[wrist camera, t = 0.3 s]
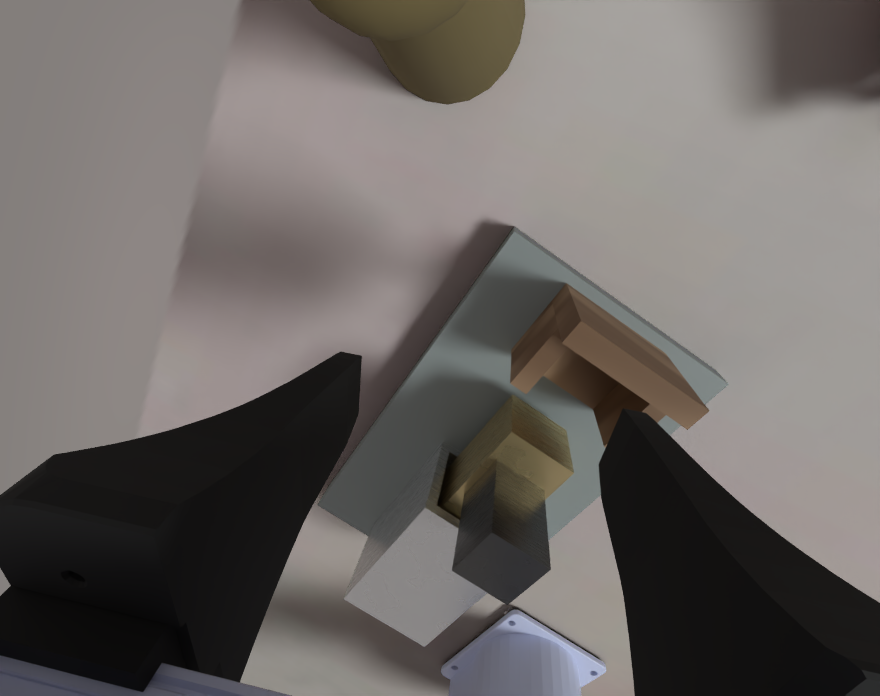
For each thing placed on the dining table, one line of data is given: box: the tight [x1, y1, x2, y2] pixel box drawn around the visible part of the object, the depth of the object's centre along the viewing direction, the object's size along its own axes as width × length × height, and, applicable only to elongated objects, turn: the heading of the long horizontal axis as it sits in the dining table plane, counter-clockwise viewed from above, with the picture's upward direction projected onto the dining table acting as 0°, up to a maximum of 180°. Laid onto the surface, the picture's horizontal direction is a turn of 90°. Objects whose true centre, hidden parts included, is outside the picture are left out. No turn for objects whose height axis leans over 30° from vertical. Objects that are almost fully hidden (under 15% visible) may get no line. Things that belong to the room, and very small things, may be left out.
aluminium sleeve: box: [344, 441, 487, 647], centre depth 23 cm, size 8×5×5 cm, turn 147°
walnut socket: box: [510, 283, 709, 448], centre depth 18 cm, size 4×6×5 cm
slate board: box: [318, 227, 728, 602], centre depth 24 cm, size 20×12×2 cm, turn 147°
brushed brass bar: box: [437, 394, 574, 605], centre depth 20 cm, size 12×3×7 cm, turn 147°
